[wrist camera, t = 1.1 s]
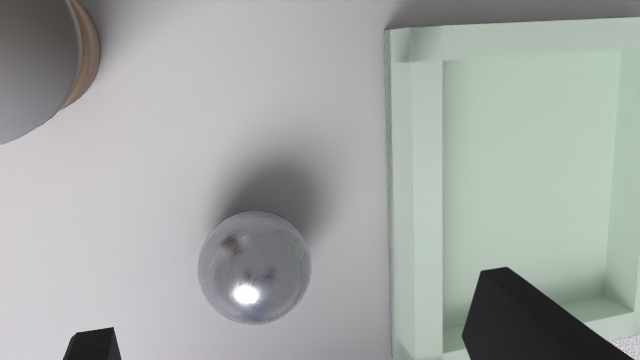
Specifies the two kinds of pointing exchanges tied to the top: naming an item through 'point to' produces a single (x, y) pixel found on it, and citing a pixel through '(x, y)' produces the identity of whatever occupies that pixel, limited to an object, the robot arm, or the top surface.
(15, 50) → the cylinder
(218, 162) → the top surface
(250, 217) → the ball
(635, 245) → the tray
